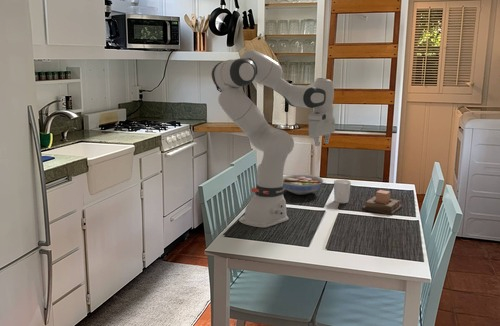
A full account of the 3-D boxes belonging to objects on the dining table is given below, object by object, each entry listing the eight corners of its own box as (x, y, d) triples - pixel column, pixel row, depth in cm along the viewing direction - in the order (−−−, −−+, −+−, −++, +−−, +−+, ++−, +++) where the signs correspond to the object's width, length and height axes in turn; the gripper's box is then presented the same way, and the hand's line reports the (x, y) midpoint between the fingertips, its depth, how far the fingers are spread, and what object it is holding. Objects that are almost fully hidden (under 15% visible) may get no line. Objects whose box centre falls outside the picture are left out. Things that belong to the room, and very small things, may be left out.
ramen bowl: (325, 188, 254) (325, 173, 252) (325, 200, 232) (326, 184, 230) (278, 186, 258) (278, 171, 256) (274, 198, 235) (274, 182, 234)
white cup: (348, 199, 235) (349, 179, 233) (350, 204, 227) (351, 183, 225) (332, 198, 235) (333, 179, 233) (333, 203, 228) (334, 183, 226)
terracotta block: (385, 208, 217) (386, 193, 216) (375, 206, 220) (376, 192, 219) (389, 206, 221) (390, 191, 220) (378, 204, 224) (379, 189, 223)
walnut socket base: (392, 215, 211) (392, 207, 211) (362, 209, 219) (362, 202, 218) (401, 207, 223) (402, 200, 222) (373, 202, 230) (373, 195, 230)
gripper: (326, 112, 226) (325, 140, 229) (306, 115, 209) (305, 146, 212) (339, 113, 222) (337, 142, 225) (319, 116, 206) (318, 148, 209)
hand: (321, 144), depth 219 cm, fingers open, 8 cm apart
